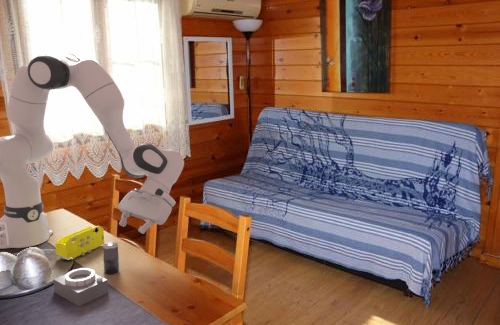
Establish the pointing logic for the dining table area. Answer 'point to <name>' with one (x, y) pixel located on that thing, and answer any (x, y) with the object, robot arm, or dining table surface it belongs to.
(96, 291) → the camera body
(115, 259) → the dark grey peg
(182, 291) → the dining table surface
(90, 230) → the yellow toy chassis
